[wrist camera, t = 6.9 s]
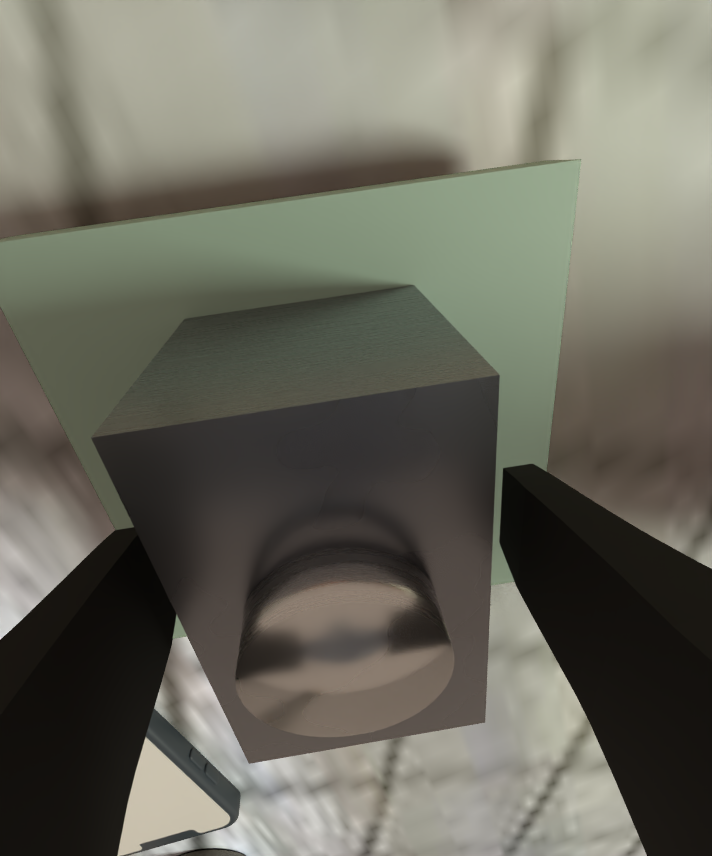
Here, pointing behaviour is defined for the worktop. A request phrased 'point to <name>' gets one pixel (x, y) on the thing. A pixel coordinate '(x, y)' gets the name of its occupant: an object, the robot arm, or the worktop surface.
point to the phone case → (174, 793)
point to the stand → (305, 290)
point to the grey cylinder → (213, 853)
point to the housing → (320, 513)
